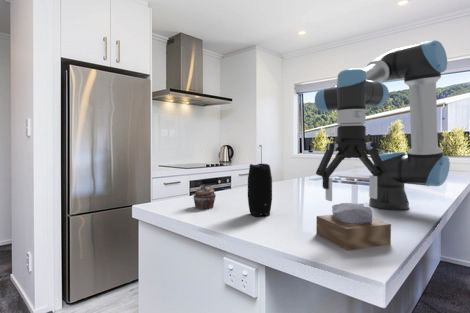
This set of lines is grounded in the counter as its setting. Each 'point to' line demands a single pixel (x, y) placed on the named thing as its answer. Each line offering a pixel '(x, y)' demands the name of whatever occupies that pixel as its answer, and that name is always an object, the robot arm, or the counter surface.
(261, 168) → the portable speaker
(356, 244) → the walnut block
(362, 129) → the robot arm
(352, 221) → the stone block
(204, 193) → the cupcake
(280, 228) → the counter surface
